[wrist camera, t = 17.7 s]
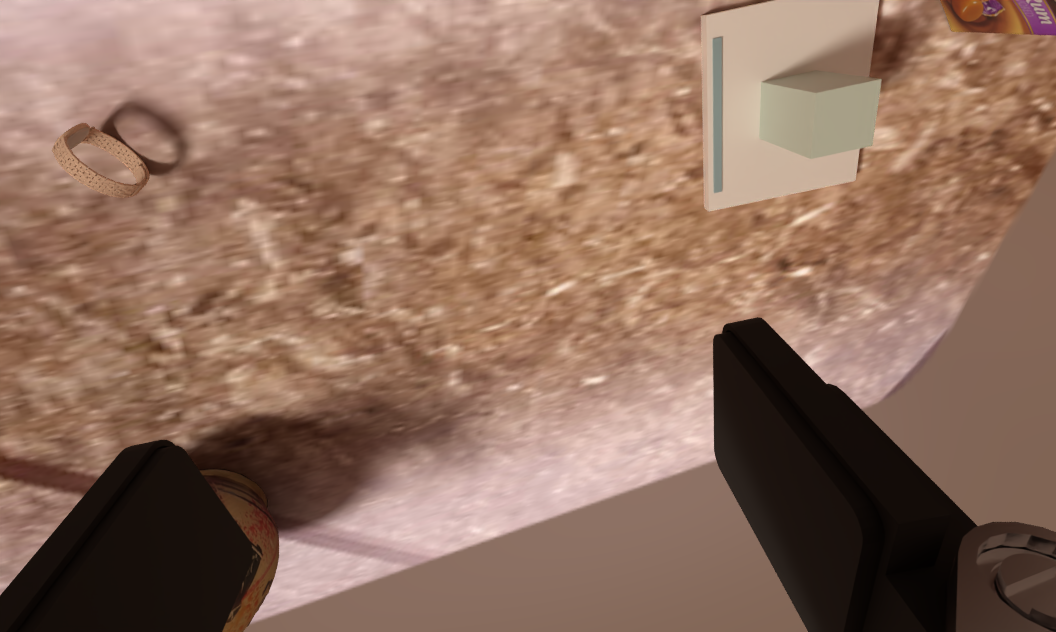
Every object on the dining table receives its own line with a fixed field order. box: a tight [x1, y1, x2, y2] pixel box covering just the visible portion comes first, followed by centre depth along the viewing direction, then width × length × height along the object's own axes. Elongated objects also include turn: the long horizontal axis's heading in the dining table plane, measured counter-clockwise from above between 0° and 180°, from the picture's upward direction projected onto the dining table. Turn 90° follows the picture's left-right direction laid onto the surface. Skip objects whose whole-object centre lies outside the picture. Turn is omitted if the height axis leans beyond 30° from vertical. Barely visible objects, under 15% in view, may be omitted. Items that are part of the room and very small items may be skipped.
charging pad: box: [701, 0, 879, 211], centre depth 39 cm, size 14×12×1 cm
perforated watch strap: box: [52, 123, 150, 198], centre depth 35 cm, size 3×5×5 cm, turn 39°
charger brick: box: [759, 70, 882, 159], centre depth 35 cm, size 4×4×7 cm
